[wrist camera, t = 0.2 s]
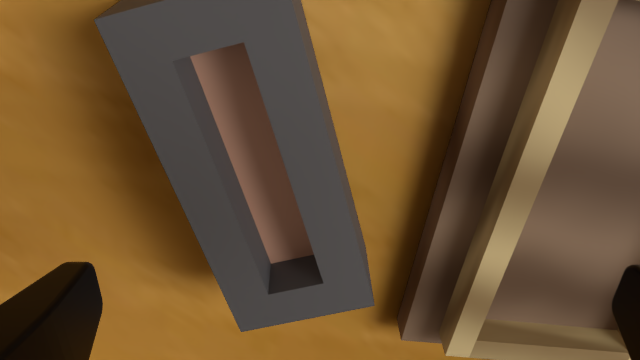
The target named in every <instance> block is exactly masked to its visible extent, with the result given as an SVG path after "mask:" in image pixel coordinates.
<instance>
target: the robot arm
mask: <svg viewBox="0 0 640 360" xmlns="http://www.w3.org/2000/svg"><path fill="white" fill-rule="evenodd" d="M102 306H103V303H102V296H101V292H100V288H99V284H98V280H97V276H96V272H95V269H94V267H93V265H92V264H91V263H89V262H66V263H63V264H62V265H60V266H58V267H57V268H55V269H54V270H52V271H51V272H49V273H48V274H46V275H45V276H43V277H42V278H40V279H39V280H37V281H36V282H34V283H33V284H31V285H30V286H28V287H27V288H25V289H24V290H22V291H21V292H19V293H18V294H16V295H15V296H13V297H12V298H10V299H9V300H7V301H5V302H4V303H2V304H1V305H0V360H89V357H90V354H91V350H92V346H93V343H94V339H95V336H96V332H97V328H98V325H99V321H100V317H101V314H102ZM612 313H613V316H614V319H615V321H616V324H617V326H618V329H619V331H620V334H621V336H622V339H623V341H624V344H625V346H626V349H627V351H628V354H629V356H630V358H631V360H640V265H638V264H634V265H630V266H628V267H627V268H626V269H625V270H624V272H623V275H622V277H621V280H620V282H619V285H618V287H617V289H616V292H615V294H614V297H613V300H612Z"/></svg>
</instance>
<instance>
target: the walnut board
mask: <svg viewBox="0 0 640 360" xmlns="http://www.w3.org/2000/svg"><path fill="white" fill-rule="evenodd" d="M634 264H638V265H640V0H491V4H490V7H489V10H488V14H487V17H486V21H485V24H484V27H483V31H482V34H481V37H480V41H479V44H478V48H477V51H476V54H475V58H474V61H473V64H472V68H471V71H470V74H469V78H468V81H467V85H466V88H465V91H464V95H463V98H462V101H461V105H460V108H459V112H458V115H457V118H456V122H455V125H454V128H453V132H452V135H451V138H450V142H449V145H448V149H447V152H446V155H445V159H444V162H443V165H442V169H441V172H440V176H439V179H438V182H437V186H436V189H435V192H434V196H433V199H432V202H431V206H430V209H429V213H428V216H427V219H426V223H425V226H424V229H423V233H422V236H421V240H420V243H419V246H418V250H417V253H416V256H415V260H414V263H413V266H412V270H411V273H410V277H409V280H408V283H407V287H406V290H405V293H404V297H403V300H402V304H401V307H400V310H399V314H398V317H397V321H398V326H399V331H400V336H401V340H406V341H418V342H430V343H442V345H443V349H444V352H445V356H457V357H469V358H482V359H495V360H631V358H630V356H629V354H628V351H627V349H626V346H625V344H624V341H623V339H622V336H621V334H620V331H619V329H618V326H617V324H616V321H615V319H614V316H613V313H612V300H613V297H614V294H615V292H616V289H617V287H618V285H619V282H620V280H621V277H622V275H623V272H624V270H625V269H626V268H627V267H628V266H630V265H634Z"/></svg>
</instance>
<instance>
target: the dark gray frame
mask: <svg viewBox="0 0 640 360" xmlns="http://www.w3.org/2000/svg"><path fill="white" fill-rule="evenodd" d="M94 21H95V23H96V26H97V28H98V30H99V32H100V34H101V36H102V38H103V40H104V43H105V45H106V47H107V49H108V51H109V53H110V55H111V57H112V60H113V62H114V64H115V66H116V68H117V70H118V72H119V74H120V76H121V79H122V81H123V83H124V85H125V87H126V89H127V91H128V93H129V96H130V98H131V100H132V102H133V104H134V106H135V108H136V110H137V113H138V115H139V117H140V119H141V121H142V123H143V125H144V127H145V130H146V132H147V134H148V136H149V138H150V140H151V142H152V144H153V146H154V149H155V151H156V153H157V155H158V157H159V159H160V161H161V163H162V166H163V168H164V170H165V172H166V174H167V176H168V178H169V180H170V183H171V185H172V187H173V189H174V191H175V193H176V195H177V197H178V199H179V202H180V204H181V206H182V208H183V210H184V212H185V214H186V216H187V219H188V221H189V223H190V225H191V227H192V229H193V231H194V233H195V236H196V238H197V240H198V242H199V244H200V246H201V248H202V250H203V252H204V255H205V257H206V259H207V261H208V263H209V265H210V267H211V269H212V272H213V274H214V276H215V278H216V280H217V282H218V284H219V286H220V289H221V291H222V293H223V295H224V297H225V299H226V301H227V303H228V306H229V308H230V310H231V312H232V314H233V316H234V318H235V320H236V322H237V325H238V327H239V329H240V331H241V332H244V331H249V330H254V329H259V328H264V327H269V326H274V325H279V324H284V323H289V322H294V321H299V320H304V319H310V318H315V317H320V316H325V315H330V314H335V313H340V312H345V311H350V310H355V309H360V308H365V307H370V306H374V299H373V293H372V286H371V280H370V273H369V267H368V260H367V253H366V247H365V243H364V239H363V236H362V232H361V228H360V224H359V220H358V217H357V213H356V209H355V205H354V201H353V197H352V194H351V190H350V186H349V182H348V178H347V175H346V171H345V167H344V163H343V159H342V156H341V152H340V148H339V144H338V140H337V136H336V133H335V129H334V125H333V121H332V117H331V114H330V110H329V106H328V102H327V98H326V95H325V91H324V87H323V83H322V79H321V75H320V72H319V68H318V64H317V60H316V56H315V53H314V49H313V45H312V41H311V37H310V33H309V30H308V26H307V22H306V18H305V14H304V11H303V7H302V3H301V0H121V1H119V2H118V3H116V4H115V5H114V6H112V7H111V8H109V9H108V10H107V11H105V12H104V13H102V14H101V15H100V16H98V17H97V18H95V19H94Z"/></svg>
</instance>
